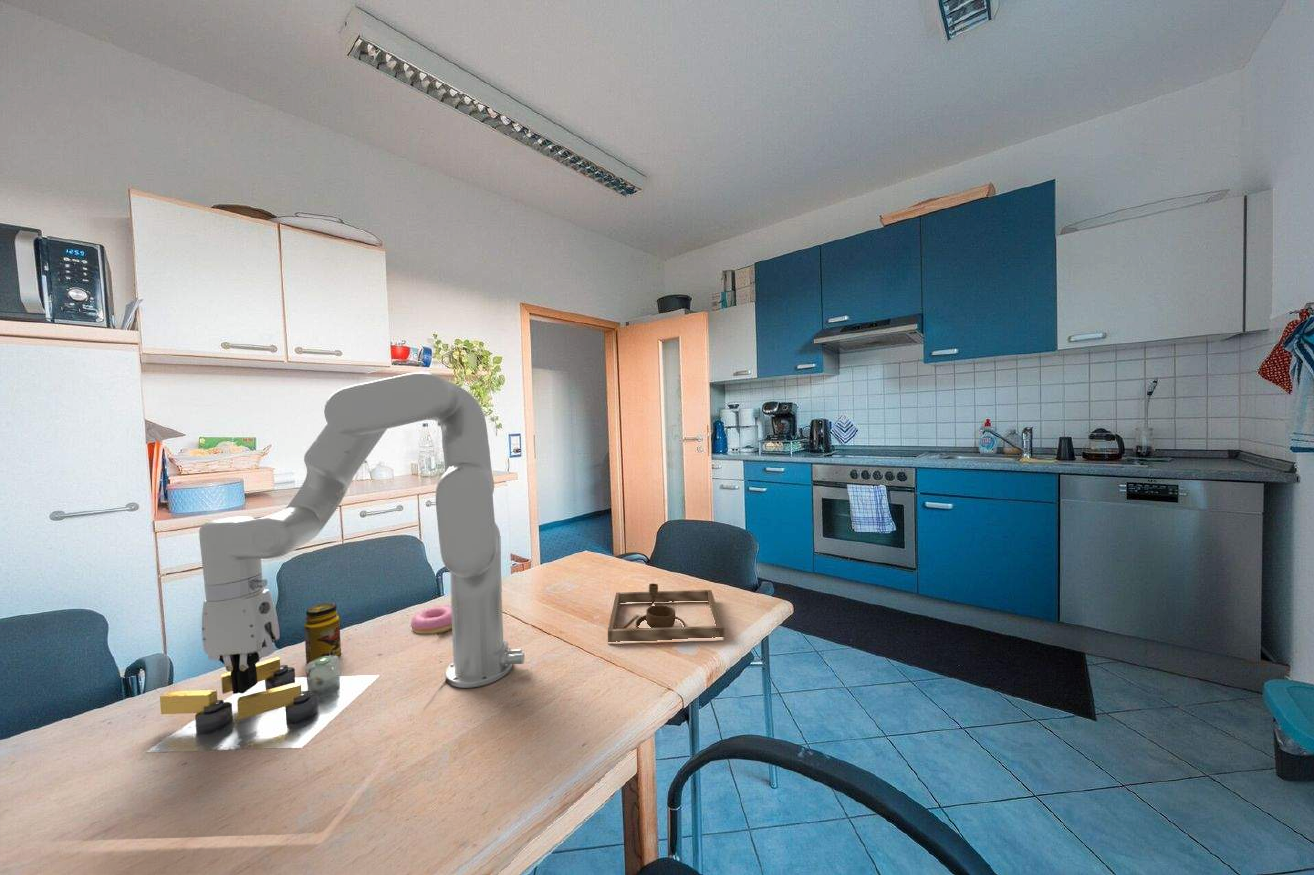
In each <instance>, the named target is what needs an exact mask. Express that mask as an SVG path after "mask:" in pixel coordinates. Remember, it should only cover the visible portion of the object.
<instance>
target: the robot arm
mask: <svg viewBox="0 0 1314 875" xmlns="http://www.w3.org/2000/svg"><path fill="white" fill-rule="evenodd" d="M323 410H324V411H323V412H324V413H323V414H324V418H325V420H326V422H327V424H325V426H324V428H323V429H322V431H321V432H320V433H319V434H318V436H317V437H316V438H315V439H314V441H313V442H312V444H311V446H309V447H308V449H307V450H306V452H305V453H304V456H303V461H304V464H305V467H306V475H305V479H304V481H303V483H302V485H301V486H300V488H299V490H298V491H297V493H296V494H295V495H294V496H293V498H292V499H291V501H290V502H289V504H287V506H286V507H285V508H284V509H282V510H280V511H277V512H274V513H271V514H268V515H265V516H262V517H259V518H254V517H252V516H248V515H241V516H240V515H239V516H228V517H223V518H218V519H213V520H210V521H209V520H208V521H207V522H205V523H203V524H202V525H200V528H199V531H198V532H199V534H198V535H199V537H198V538H199V544H200V545H199V547H200V556H201V566H202V572H203V573H202V574H203V575H202V576H203V584H204V585H203V586H204V593H205V600H204V601H203V605H202V612H201V641H202V647H203V651H204V653H205V654H207V655H208V659H209V660H211V661H217V662H220V663H222V664H223V665H224V667H225V670H226V671H227V673H228V672H231V680H232V690H233V691H232V695H234V694H238V693H245V692H246V691H248V690H249V689H251V688H252V687H253V686H255V685H256V684H257V682H258V681H257V671H256V664H257V663H260V660H261V659H262V658H265V657H269V656H270V655H272V654H273V653H275V650H276V648H275V645H274V644H273V643H275V642H276V641H278V640H280V627H279V621H278V620H279V619H278V614H277V610H276V605H275V603H274V600H273V597H272V595H271V592H270V591H269V589H265V588H266V587H267V586H268V579H264V577H263V576H264V575H263V566H262V560H266V559H268V560H269V559H276V558H281V557H284V556H286V555H289V554H291V553H292V552H293V551H295V550H297V549H298V548H300V547H302V546H304V545H306V544H308V543H310V542H312V540H314V539H315V538H316V537H317V536H318V535H319V534H320V533H321V532H322V531H323V529H324V528H325V526H326V524H327V523H328V522H329V520H330V519H331V517H332V516H333V515H334V513H336V511H337V510H338V507H339V506H340V504H341V503H342V501H343V500H344V498H345V496H346V493H347V491H348V490H349V488H350V486H351V485H352V482H353V478H354V477H355V475H356V474H357V473H358V471H359V469H361V467H362V465H363V464H364V462H365V461H366V459H367V458H368V456H369V455H370V454H371V453H372V451H373V449H374V448H375V446H376V445H377V444H378V443H379V441H380V440H381V438H382V437H383V435H384V434H385V432H386V431H387V430H388V429H392V428H396V427H400V426H404V425H409V424H413V423H418V422H421V421H422V422H423V421H435V422H437V423H438V424H439V427H440V429H441V445H442V452H443V463H444V466H443V467H444V472H443V474H442V476H441V477H440V478H439V479H438V483H437V484H436V488H435V489H436V490H435V510H436V521H437V531H438V542H439V552H440V556H441V561H442V563H443V565H444V566H445V568H446V569H447V571H449V572H450V574H449V576H450V577H449V578H450V579H449V581H450V606H451V614H452V629H451V636H452V637H451V638H452V657H453V662H451V663H450V664H449V665H448V666H447V668H446V670H445V672H444V673H445V674H444V675H445V681H446V683H447V684H449V685H450V686H453V687H456V688H461V689H462V688H463V689H465V688H466V689H467V688H468V689H469V688H476V687H482V686H485V685H488V684H492V683H494V682H497V681H498V680H501V679H502V678H504V677H505V676H506V675H507V674H508V673H509V672H510V670H511V669H512V667H513V665H523V664H524V662H525V657H526V656H525V652H524V653H523V650H522V648H515V649H512V648H510V647H509V641H504V623H503V622H504V619H503V600H502V598H503V597H502V595H503V593H502V591H503V588H502V583H503V582H502V546H501V545H502V543H501V542H502V541H501V540H502V539H501V533H500V530H499V527H498V525H497V523H496V520H495V519H496V518H495V509H494V507H495V506H494V497H493V496H494V495H493V494H494V491H495V481H494V477H493V472H492V462H491V461H492V460H491V450H490V444H489V434H488V428H487V427H488V426H487V422H486V417H485V414H484V411H483V410H482V406H481V405H480V404H479V402H478V401H477V399H475V397H474V396H473V395H472V394H471V393H470V392H468V391H467V390H466V389H465V388H463V387H461V386H460V385H457V384H455V383H453V382H451V381H450V380H449V381H448V380H446V379H445V378H443V377H440V376H439V375H437V374H435V373H430V372H427V371H425V372H424V371H419V372H417V371H415V372H411V373H405V374H401V375H397V376H393V377H391V376H390V377H387V378H382V379H379V380H374V381H373V380H372V381H370V382H369V381H368V382H362V383H359V384H354V385H350V386H345V387H342V388H341V389H338V390H336V391H335V392H333V393H332V394H331V395H330V396H329V397H328V399H327V400H326V402H325V405H324V408H323Z"/></svg>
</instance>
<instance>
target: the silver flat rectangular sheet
mask: <svg viewBox="0 0 1314 875" xmlns="http://www.w3.org/2000/svg"><path fill="white" fill-rule="evenodd" d="M305 670H306V676H305V677H295V683H296V682H300V681H301V687H302V691H310V693H316V694H317V695H318V711H317V712H316V713H315V714H314V715H313V716H311V717H309V718H307V719H305V720H302V721H299V722H293V723H290V722H287V721H286V715H285V707H283V708H279V709H275V710H272V711H268V712H265V713H261V714H257V715H254V716H250V717H246V718H243V719H239V720H238V706H237V701H238V699H239V697H242V696H245V695H249V694H253V693H257V692H261V691H265V680H263V681H260V682H257V684H256V685H255V686H253V687H252V688H251V689H249V690H248V691H246V692H245V693H238V694H231V696H229V697H227V698H225V699H224V700H223V701H224V702H230V703H232V714H233V719H232V721H231V722H230V723H228V724H227V725H225V726H224V727H222V728H219V729H217V730H214V731H211V732H207V733H197V732H196V722H195V719H194V720H192V721H190V722H189V723H188V724H186V725H185V726H183V727H181V728H180V729H178V730H177V731H175V732H174V733H172V734H170V735H169V736H167V737H166V738H164V739H162V740H161V741H159V743H157V744H155V745H153V746H152V747H151V748H149V749H148V750H146V751H144V753H173V752H175V753H176V752H177V753H179V752H180V753H181V752H204V751H205V752H206V751H207V752H210V751H235V750H236V751H237V750H239V751H240V750H241V751H243V750H270V749H271V750H272V749H300V748H303V747H305V746H306V744H308V742H310V741H311V740H312V739H313V738H314V737H315V736H316V735H317V734H318V733H319V732H321V731H322V729H324V728H325V727H326V726H327V725H328V724H329V723H330V722H331V721H332V720H333V719H334V718H335V717H337V716H338V715H339V714H340V713H341V712H342V711H343V710H344V709H345V708H346V707H347V706H348V705H350V703H352V702H353V701H354V700H355V699H356V698H357V697H358V696H359V695H361V693H362V692H363V691H365V690H366V689H367V688H368V687H369V686H370V685H371V684H372V683H373V682H374V681H375V680H377V678H379V677H380V676H381V675H379V674H377V675H374V674H373V675H351V676H350V675H349V676H347V675H344V676H341V673H340V672H341V670H340V657H338V656H323V657H320V658H318V659H316V660H313V661H312V662H310V663H309V664H307V663H306V667H305Z"/></svg>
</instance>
